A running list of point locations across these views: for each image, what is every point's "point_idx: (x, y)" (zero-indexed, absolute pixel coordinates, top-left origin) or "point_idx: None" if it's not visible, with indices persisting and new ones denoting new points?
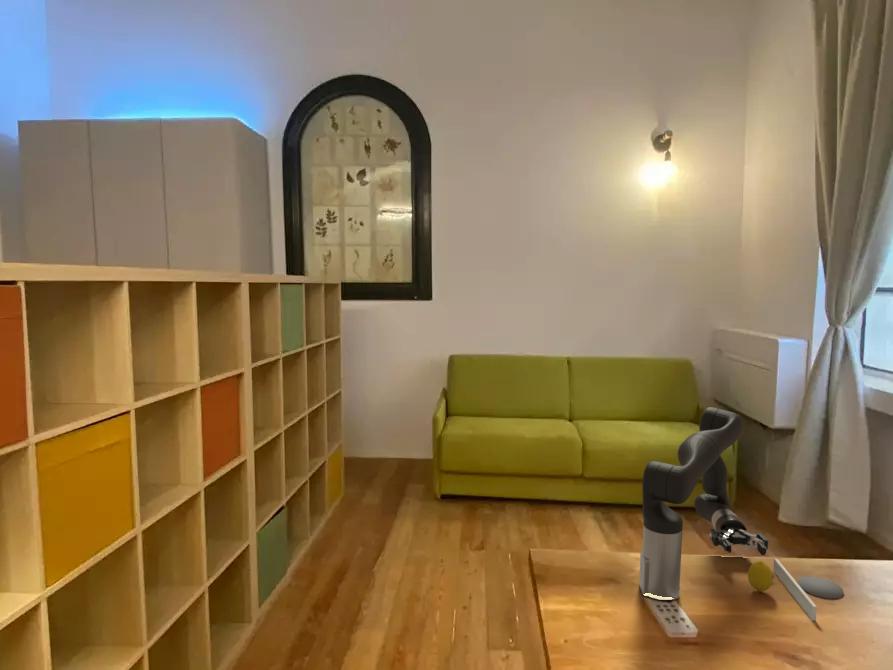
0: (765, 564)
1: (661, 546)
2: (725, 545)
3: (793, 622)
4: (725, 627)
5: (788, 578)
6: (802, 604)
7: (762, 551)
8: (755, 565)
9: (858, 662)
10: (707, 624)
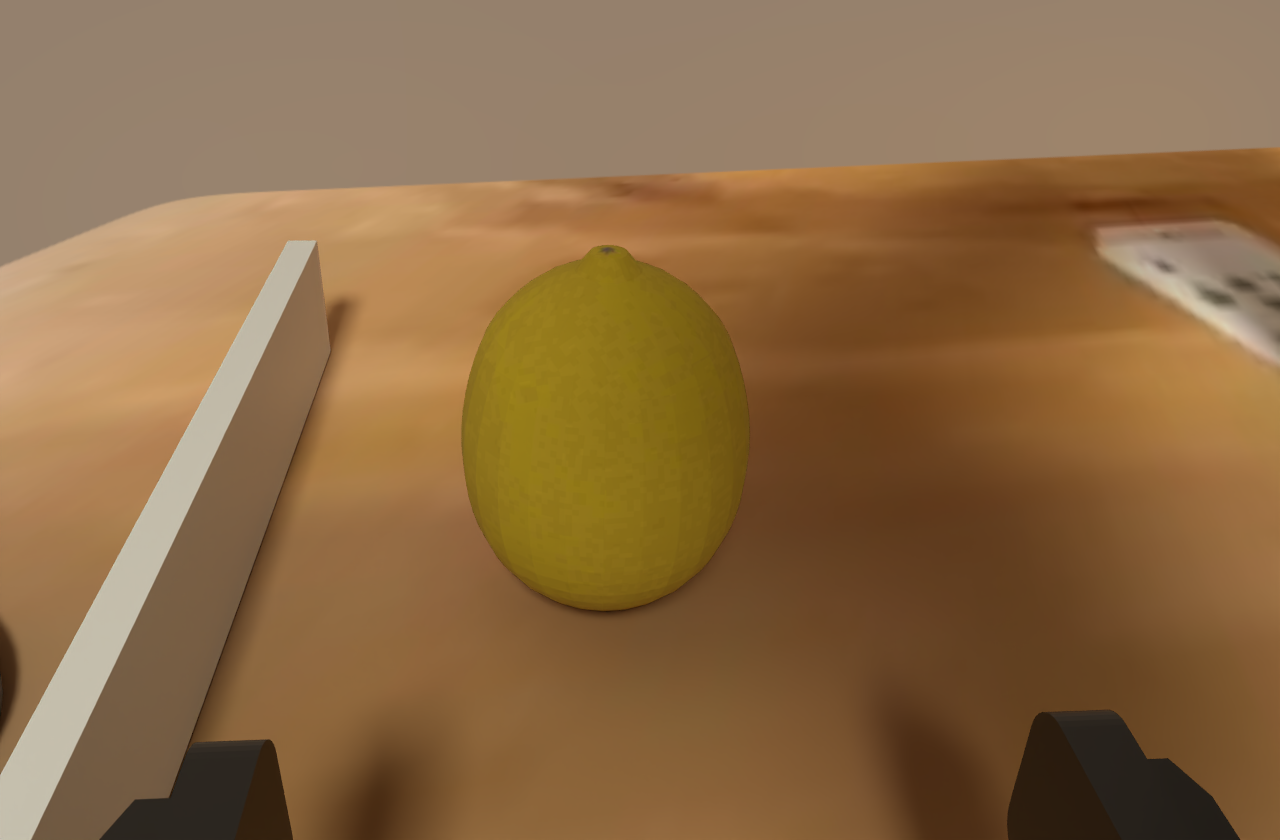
0: (553, 271)
1: None
2: (1194, 787)
3: None
4: (947, 274)
5: (178, 568)
6: (290, 417)
7: (281, 784)
8: (684, 285)
9: (319, 189)
10: (1055, 281)
